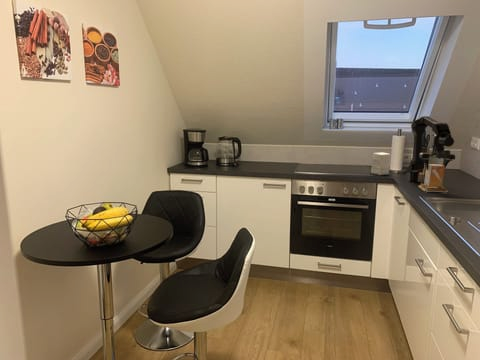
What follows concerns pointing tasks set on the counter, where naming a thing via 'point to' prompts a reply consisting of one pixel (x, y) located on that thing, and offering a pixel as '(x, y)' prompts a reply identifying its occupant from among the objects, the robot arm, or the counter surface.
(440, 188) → the wooden tray
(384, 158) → the supplement box
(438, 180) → the small box
